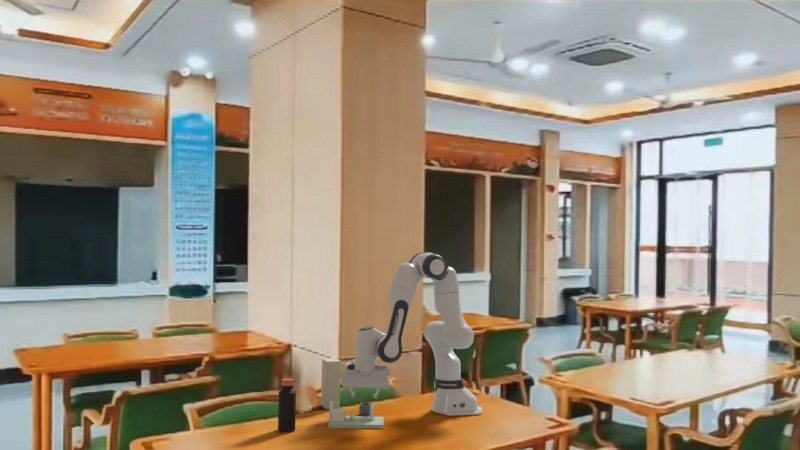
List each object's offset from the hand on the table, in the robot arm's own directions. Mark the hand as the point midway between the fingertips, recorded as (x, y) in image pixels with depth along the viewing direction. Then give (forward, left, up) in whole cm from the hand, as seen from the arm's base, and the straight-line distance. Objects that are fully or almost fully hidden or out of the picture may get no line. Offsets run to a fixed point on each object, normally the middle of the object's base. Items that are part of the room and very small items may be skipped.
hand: (364, 397), depth 282 cm
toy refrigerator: (+15, -16, -8) cm, 23 cm away
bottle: (+29, +21, -8) cm, 37 cm away
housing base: (+2, +11, -8) cm, 14 cm away
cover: (+10, +11, -6) cm, 17 cm away
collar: (-1, -1, -8) cm, 8 cm away
